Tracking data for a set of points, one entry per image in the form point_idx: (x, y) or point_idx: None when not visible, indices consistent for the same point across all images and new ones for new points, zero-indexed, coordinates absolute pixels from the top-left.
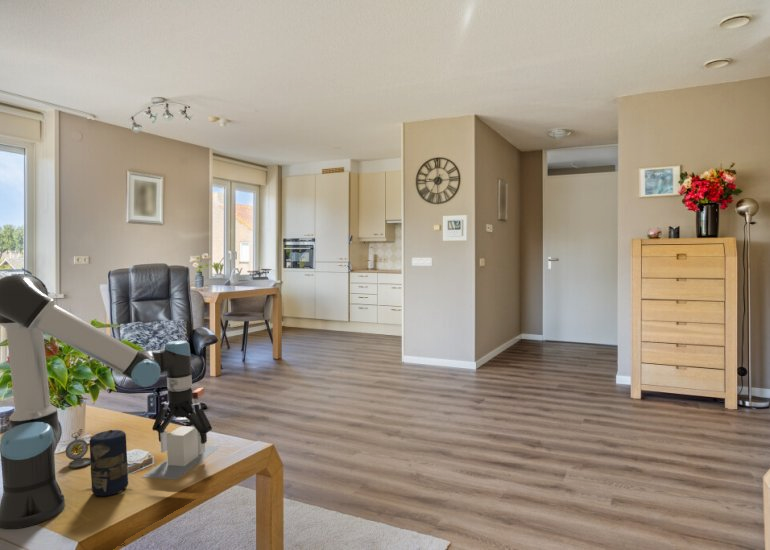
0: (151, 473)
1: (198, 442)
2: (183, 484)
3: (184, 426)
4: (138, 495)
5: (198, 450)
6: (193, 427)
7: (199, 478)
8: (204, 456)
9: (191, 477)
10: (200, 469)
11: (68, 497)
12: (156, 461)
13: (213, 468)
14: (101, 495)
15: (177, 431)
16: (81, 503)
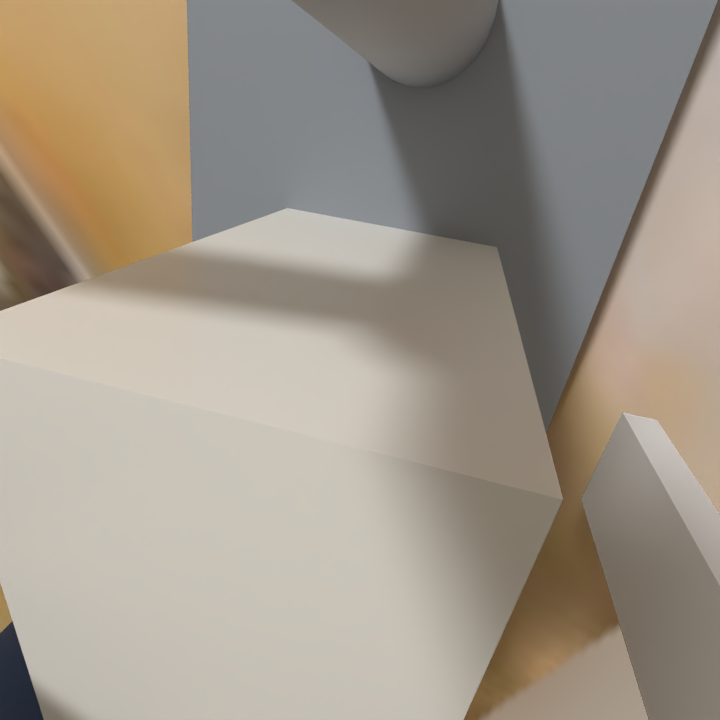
0: None
1: (635, 651)
2: (513, 648)
3: (54, 382)
4: None
5: (592, 536)
6: (430, 524)
7: (612, 602)
8: (582, 267)
9: (540, 576)
10: (581, 464)
11: (6, 626)
12: (94, 256)
13: (715, 463)
14: None
15: (138, 685)
16: None
